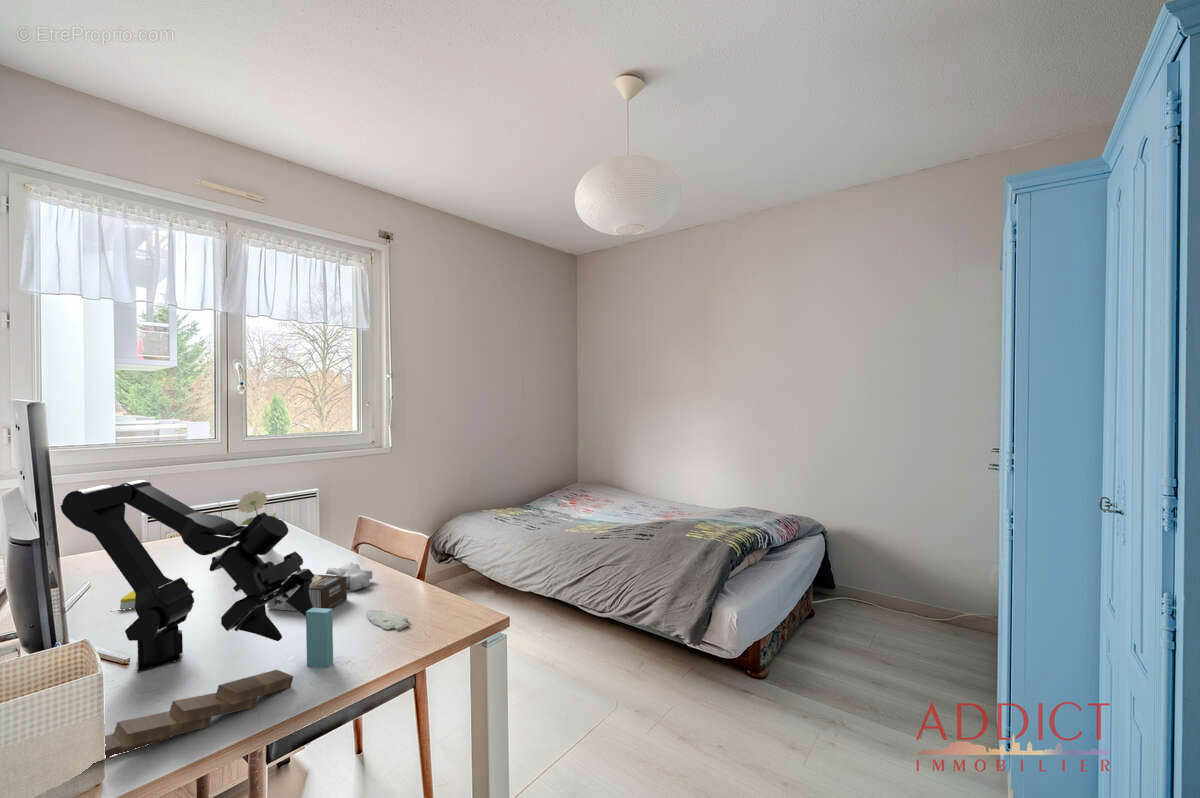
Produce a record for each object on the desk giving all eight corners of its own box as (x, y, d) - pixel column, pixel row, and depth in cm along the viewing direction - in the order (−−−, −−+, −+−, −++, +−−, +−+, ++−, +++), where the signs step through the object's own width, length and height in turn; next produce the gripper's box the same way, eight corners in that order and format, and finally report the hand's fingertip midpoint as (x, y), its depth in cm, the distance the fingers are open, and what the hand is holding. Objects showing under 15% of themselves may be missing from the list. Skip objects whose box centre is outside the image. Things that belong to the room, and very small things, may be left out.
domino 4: (290, 686, 94) (233, 704, 84) (273, 679, 96) (215, 696, 86) (293, 676, 95) (236, 692, 84) (276, 669, 96) (218, 685, 86)
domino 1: (170, 740, 81) (71, 773, 74) (171, 726, 84) (76, 756, 77) (170, 729, 80) (70, 761, 74) (171, 715, 84) (76, 744, 77)
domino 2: (208, 726, 83) (123, 747, 74) (197, 715, 85) (113, 734, 76) (212, 714, 83) (127, 734, 74) (201, 704, 86) (117, 721, 77)
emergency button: (180, 588, 131) (107, 596, 126) (180, 605, 131) (107, 614, 126) (195, 576, 140) (128, 583, 135) (196, 592, 140) (128, 599, 135)
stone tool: (416, 627, 119) (378, 609, 127) (416, 618, 119) (377, 601, 127) (394, 639, 114) (356, 619, 122) (394, 629, 114) (356, 611, 122)
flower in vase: (288, 562, 162) (286, 484, 162) (291, 572, 153) (290, 490, 152) (237, 571, 154) (236, 489, 154) (238, 582, 145) (237, 495, 145)
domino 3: (255, 707, 88) (179, 723, 79) (243, 697, 91) (169, 713, 82) (258, 695, 88) (183, 711, 79) (246, 687, 91) (172, 700, 82)
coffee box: (293, 571, 136) (347, 575, 133) (294, 595, 136) (348, 599, 133) (265, 584, 127) (322, 588, 124) (266, 610, 127) (323, 614, 124)
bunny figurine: (344, 581, 135) (322, 563, 145) (344, 600, 136) (321, 580, 145) (379, 572, 142) (355, 554, 152) (378, 589, 143) (355, 571, 152)
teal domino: (327, 667, 101) (326, 612, 100) (306, 666, 101) (305, 611, 101) (333, 662, 102) (332, 608, 102) (313, 661, 103) (312, 607, 103)
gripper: (234, 559, 93) (288, 623, 92) (306, 531, 112) (352, 584, 110) (196, 599, 95) (250, 662, 93) (274, 565, 113) (319, 617, 112)
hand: (297, 628), depth 102 cm, fingers open, 9 cm apart
